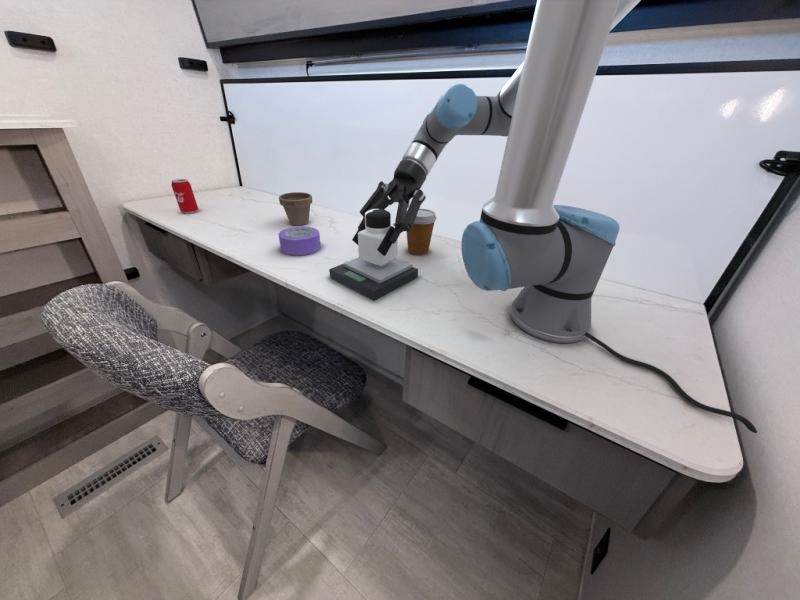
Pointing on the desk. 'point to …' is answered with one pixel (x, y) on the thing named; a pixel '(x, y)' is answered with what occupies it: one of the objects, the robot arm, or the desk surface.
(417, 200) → the robot arm
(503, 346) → the desk surface
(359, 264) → the scale
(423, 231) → the disposable coffee cup
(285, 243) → the tape roll
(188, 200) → the beverage can
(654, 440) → the desk surface
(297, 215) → the flower pot
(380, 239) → the medicine bottle
